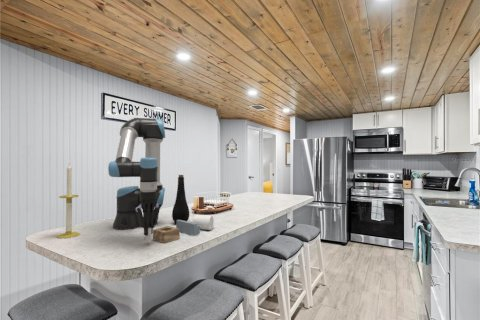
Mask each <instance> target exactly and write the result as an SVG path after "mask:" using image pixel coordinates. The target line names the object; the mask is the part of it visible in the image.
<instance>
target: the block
mask: <svg viewBox="0 0 480 320" xmlns="http://www.w3.org/2000/svg"><path fill="white" fill-rule="evenodd" d="M180 233H181V232H180V229H179V228H176V227H174V226H170V225H165V226H162V227H158V228H153V234H152V240H153V241H157V242H159V243H163V244H167V243H169V242H173V241H177V240H179V239H180V236H181V235H180Z"/></svg>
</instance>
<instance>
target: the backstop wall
mask: <svg viewBox="0 0 480 320" xmlns="http://www.w3.org/2000/svg"><path fill="white" fill-rule="evenodd" d="M192 222H193V221H192ZM192 222H191V221H189V220H188V221H183V220H176V224H175V226H176V227H175V228H179V229H180V233H182V234H185V235H190V236H193V237H194V236H195V237H196V236H198V234H201V230H200V226H198V225H197V223H192Z"/></svg>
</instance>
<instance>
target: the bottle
mask: <svg viewBox="0 0 480 320" xmlns="http://www.w3.org/2000/svg"><path fill="white" fill-rule="evenodd" d="M185 188H186V187H185V177H184V174H178V177H177V191H176V197H175V201H174V204H173V207H172V211H171V212H172V213H171V217H172V221H173V222H174V224H175V225H176V220H183V221H188V222H189V218H190V208H189V205H188V202H187V197H186V189H185Z"/></svg>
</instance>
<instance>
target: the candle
mask: <svg viewBox="0 0 480 320" xmlns="http://www.w3.org/2000/svg"><path fill="white" fill-rule="evenodd" d="M72 171H73V168H72V166H71V164H70V163H68V166H67V167H66V194H65V195H59V198H60V199H65V202H66V203H65V232H64V233H60V234H58V235H57V239H62V238H63V239H71V237H72V238H76V237H79V236H80V235H81V233H80V232H77V231H73V227H72V226H73V225H72V224H73V198H78V197H79V196H80V195H79V194H72V191H73V190H72V189H73V188H72V186H73V184H72V182H73V181H72V180H73V179H72V177H73V174H72V173H73V172H72ZM78 235H79V236H78Z"/></svg>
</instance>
